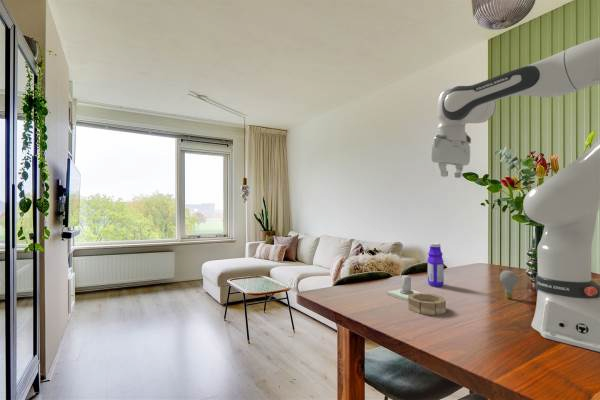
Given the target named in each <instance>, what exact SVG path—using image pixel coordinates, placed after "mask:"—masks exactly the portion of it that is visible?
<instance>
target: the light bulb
mask: <svg viewBox="0 0 600 400" xmlns="http://www.w3.org/2000/svg"><path fill="white" fill-rule="evenodd" d="M518 280H519V278H518V275H517V274H516V273H515V272H514V271H512V270H510V269H509V270H502V272H501V273H500V275H499V281H500V283H501V284H502V285H503V288H504V292H505V298H506V299H508V300H510V299H513V290H514V288H515V287H516V285H517V284H518Z"/></svg>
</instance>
